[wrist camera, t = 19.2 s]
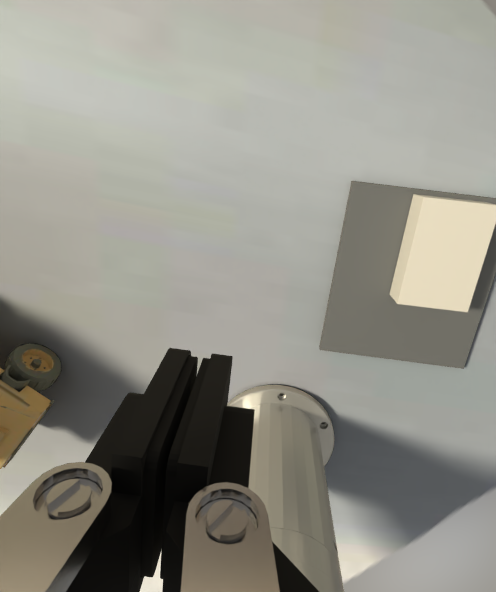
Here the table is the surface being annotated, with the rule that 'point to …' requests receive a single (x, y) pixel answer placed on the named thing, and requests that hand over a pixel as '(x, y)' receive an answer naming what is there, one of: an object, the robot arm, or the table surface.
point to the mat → (378, 280)
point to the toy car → (24, 395)
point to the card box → (442, 252)
